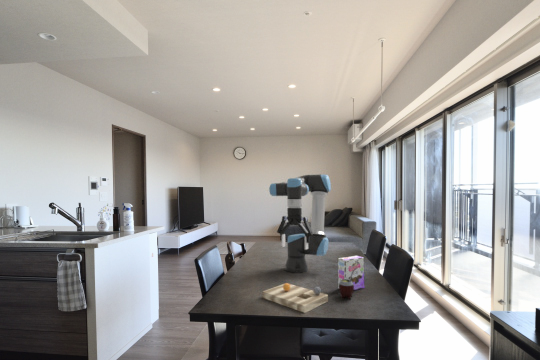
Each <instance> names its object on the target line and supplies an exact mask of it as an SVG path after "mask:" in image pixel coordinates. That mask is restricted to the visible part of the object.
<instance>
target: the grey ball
mask: <svg viewBox="0 0 540 360" xmlns="http://www.w3.org/2000/svg"><path fill="white" fill-rule="evenodd" d="M312 290H313V291H314V293H315V294H316V295H319V294H320V293H322V288H320V286H314V288H313V289H312Z"/></svg>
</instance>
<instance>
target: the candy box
mask: <svg viewBox="0 0 540 360" xmlns="http://www.w3.org/2000/svg"><path fill="white" fill-rule="evenodd" d="M356 268H357V269H356ZM354 269H356V270H355V271H354V273H353V275H352V277H351V274H352V271H353V270H354ZM350 277H351V281H352V282H353V285H354V290H353V291H355V290H356V291H357V290H361V289H365V257H363V256H359V255H352V256H345V257H338V258H337V289H339V283H340V281H341V280H343V279H348V280H349V279H350Z"/></svg>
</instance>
